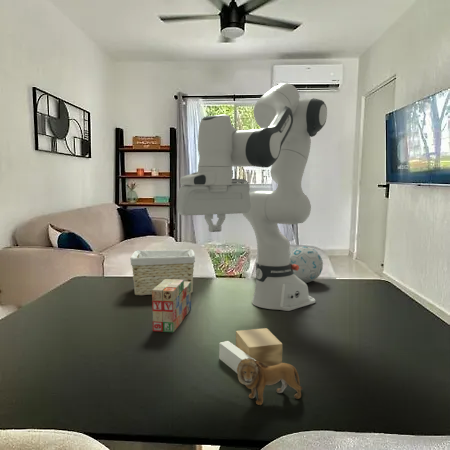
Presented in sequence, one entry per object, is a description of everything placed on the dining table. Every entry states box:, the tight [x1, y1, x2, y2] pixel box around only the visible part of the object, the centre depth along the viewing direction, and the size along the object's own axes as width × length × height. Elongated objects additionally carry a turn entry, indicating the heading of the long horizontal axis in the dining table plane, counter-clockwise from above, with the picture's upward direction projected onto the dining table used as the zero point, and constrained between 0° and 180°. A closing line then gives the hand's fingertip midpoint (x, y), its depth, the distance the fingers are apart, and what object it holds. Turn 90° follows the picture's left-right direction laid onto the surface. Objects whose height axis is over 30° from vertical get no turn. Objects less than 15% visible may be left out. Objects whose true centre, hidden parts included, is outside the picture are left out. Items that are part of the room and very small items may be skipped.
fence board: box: [218, 340, 256, 375], centre depth 91 cm, size 2×13×4 cm, turn 29°
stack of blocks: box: [151, 279, 192, 333], centre depth 123 cm, size 21×6×12 cm, turn 171°
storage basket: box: [130, 248, 196, 296], centre depth 155 cm, size 24×16×15 cm
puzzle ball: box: [290, 246, 324, 284], centre depth 168 cm, size 15×15×15 cm
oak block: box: [235, 327, 283, 366], centre depth 95 cm, size 8×10×6 cm
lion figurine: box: [236, 358, 304, 406], centre depth 78 cm, size 15×5×9 cm, turn 114°
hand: (215, 231), depth 105 cm, fingers closed
